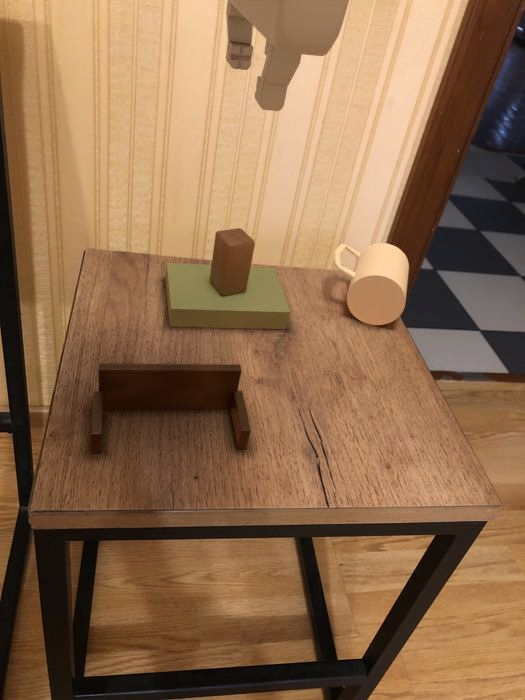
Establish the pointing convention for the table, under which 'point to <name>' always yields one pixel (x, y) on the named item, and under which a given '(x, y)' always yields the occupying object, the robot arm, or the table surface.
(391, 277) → the cup
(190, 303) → the board
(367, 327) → the table surface
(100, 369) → the frame
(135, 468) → the table surface
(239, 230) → the wooden block
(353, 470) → the table surface
